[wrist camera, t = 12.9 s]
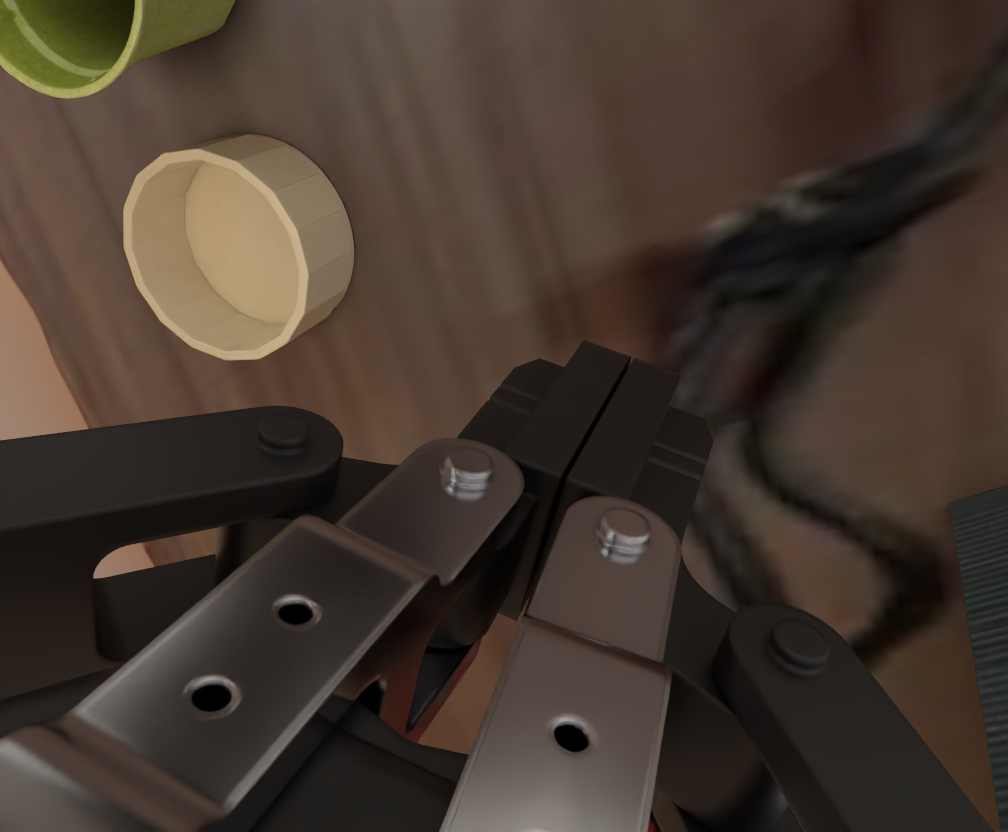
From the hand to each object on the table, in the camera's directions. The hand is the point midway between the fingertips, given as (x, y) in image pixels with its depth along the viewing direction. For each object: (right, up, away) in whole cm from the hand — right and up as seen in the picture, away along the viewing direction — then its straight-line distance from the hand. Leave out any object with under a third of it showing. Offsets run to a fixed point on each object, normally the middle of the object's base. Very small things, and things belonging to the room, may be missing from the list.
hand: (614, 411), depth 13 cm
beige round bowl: (-14, +9, +32) cm, 36 cm away
